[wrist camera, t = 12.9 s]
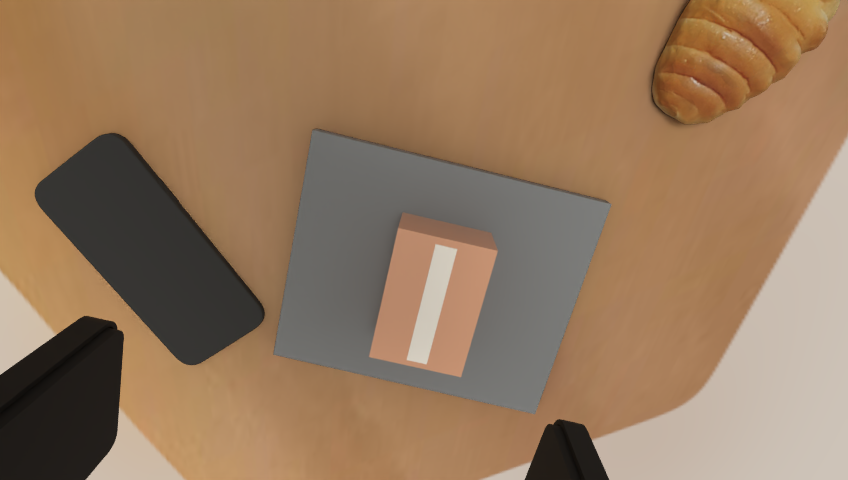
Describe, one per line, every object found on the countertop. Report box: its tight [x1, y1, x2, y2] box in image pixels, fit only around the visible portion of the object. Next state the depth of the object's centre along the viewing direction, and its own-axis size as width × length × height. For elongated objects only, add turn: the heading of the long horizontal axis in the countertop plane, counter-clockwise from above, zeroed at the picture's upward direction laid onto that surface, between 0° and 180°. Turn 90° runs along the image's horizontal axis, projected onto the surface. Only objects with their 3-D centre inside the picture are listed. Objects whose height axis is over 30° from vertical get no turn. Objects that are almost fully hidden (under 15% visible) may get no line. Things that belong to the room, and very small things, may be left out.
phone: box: [35, 133, 265, 365], centre depth 33 cm, size 7×1×15 cm
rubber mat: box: [273, 129, 611, 414], centre depth 32 cm, size 18×15×1 cm
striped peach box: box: [369, 212, 498, 377], centre depth 30 cm, size 8×6×4 cm
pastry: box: [652, 0, 840, 124], centre depth 26 cm, size 9×7×4 cm
